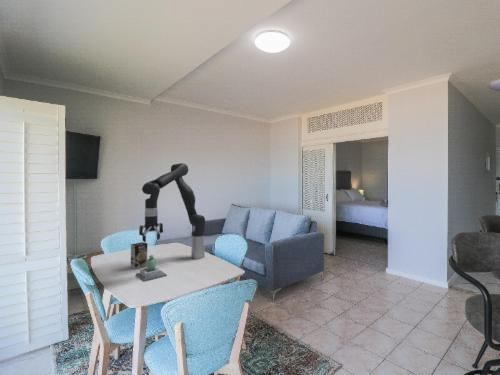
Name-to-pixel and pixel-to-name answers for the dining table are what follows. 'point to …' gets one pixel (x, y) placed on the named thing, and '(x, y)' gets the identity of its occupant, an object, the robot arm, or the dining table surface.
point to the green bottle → (151, 264)
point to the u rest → (150, 274)
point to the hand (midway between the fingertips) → (151, 240)
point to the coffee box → (138, 255)
